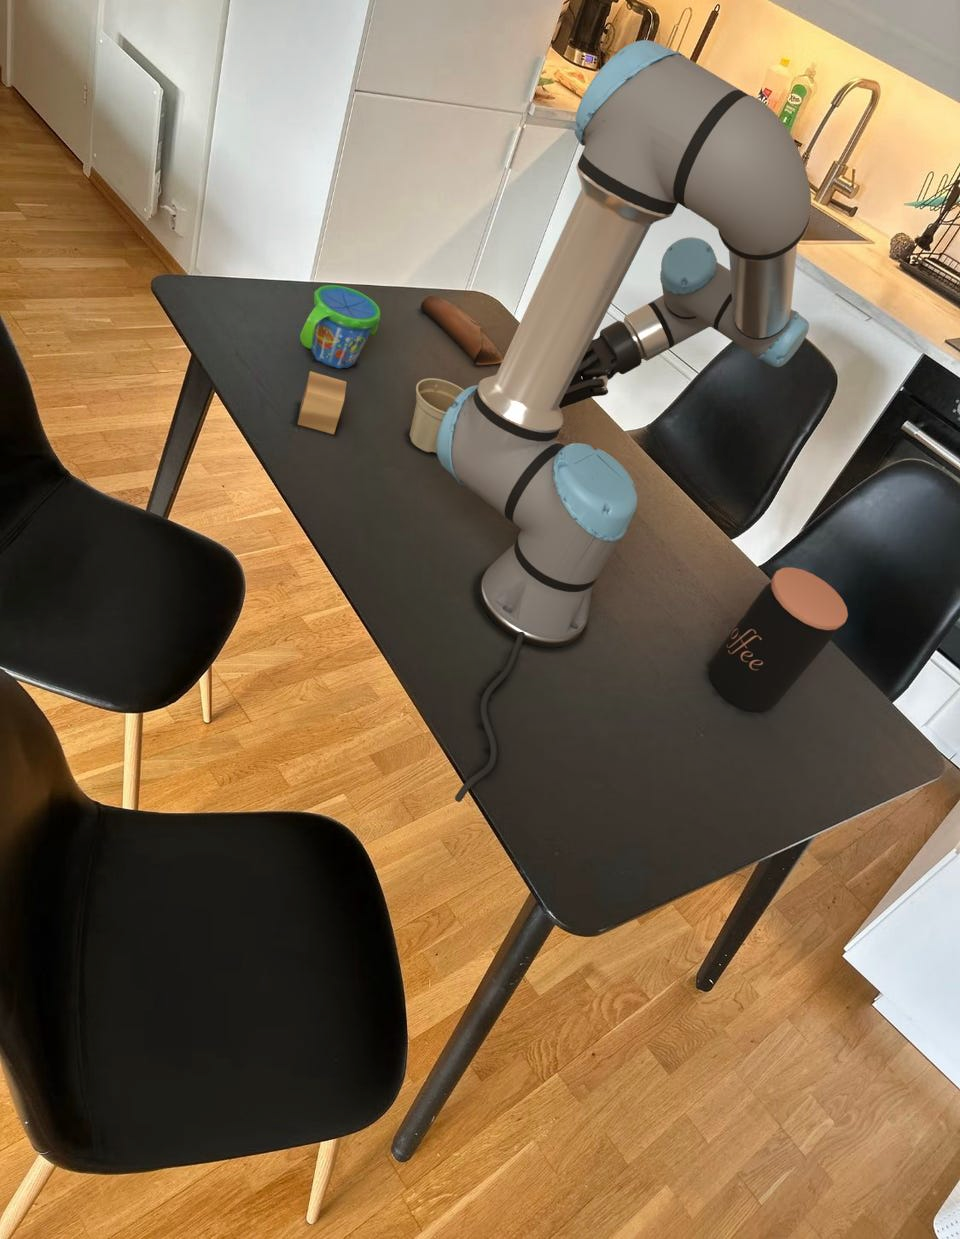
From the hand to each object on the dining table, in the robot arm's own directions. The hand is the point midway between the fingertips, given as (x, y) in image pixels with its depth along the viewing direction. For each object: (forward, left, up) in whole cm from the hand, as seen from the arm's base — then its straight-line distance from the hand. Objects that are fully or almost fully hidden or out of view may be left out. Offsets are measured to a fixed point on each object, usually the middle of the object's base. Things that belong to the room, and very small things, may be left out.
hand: (497, 416), depth 153 cm
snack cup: (+14, +26, -7) cm, 30 cm away
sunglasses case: (+35, +3, -7) cm, 36 cm away
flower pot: (-3, +9, -7) cm, 12 cm away
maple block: (-5, +27, -6) cm, 28 cm away
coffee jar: (-42, -36, -7) cm, 55 cm away
